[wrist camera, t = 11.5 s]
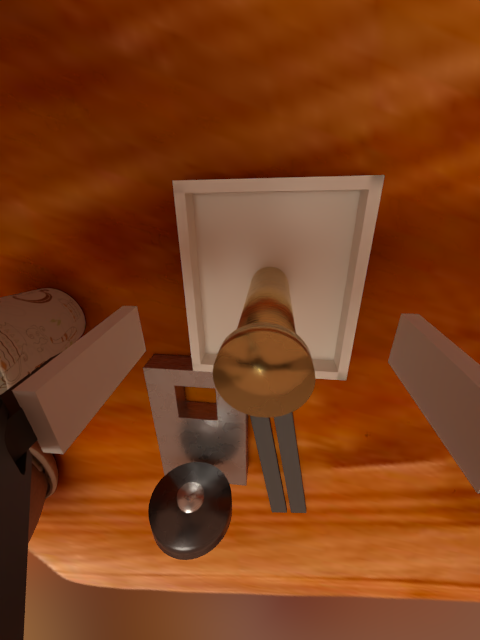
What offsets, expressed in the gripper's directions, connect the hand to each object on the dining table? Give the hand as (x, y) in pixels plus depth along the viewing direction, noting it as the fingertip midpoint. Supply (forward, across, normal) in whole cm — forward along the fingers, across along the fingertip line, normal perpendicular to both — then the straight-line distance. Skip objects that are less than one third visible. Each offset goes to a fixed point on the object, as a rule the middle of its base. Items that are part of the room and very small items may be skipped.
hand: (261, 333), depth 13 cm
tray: (+10, 0, -1) cm, 10 cm away
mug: (+11, -22, -7) cm, 25 cm away
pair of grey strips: (+10, +2, -24) cm, 26 cm away
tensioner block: (+10, -7, -17) cm, 21 cm away
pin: (+10, 0, -1) cm, 10 cm away
